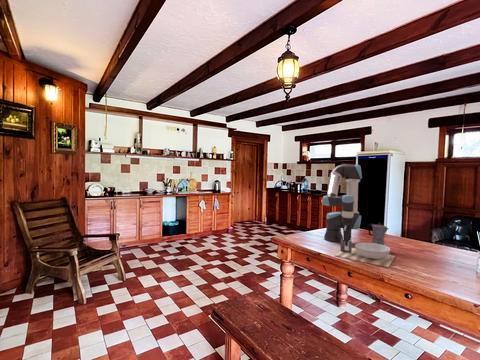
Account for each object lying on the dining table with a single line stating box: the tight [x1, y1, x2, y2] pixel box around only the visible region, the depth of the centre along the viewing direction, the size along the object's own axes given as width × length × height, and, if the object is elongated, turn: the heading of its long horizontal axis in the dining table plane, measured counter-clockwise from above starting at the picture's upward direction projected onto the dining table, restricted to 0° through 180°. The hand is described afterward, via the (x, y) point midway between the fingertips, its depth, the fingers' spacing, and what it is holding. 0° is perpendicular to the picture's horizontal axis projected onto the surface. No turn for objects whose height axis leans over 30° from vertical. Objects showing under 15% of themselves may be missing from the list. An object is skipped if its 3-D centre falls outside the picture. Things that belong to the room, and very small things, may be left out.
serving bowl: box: [354, 242, 391, 259], centre depth 169 cm, size 21×21×7 cm
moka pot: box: [367, 222, 389, 245], centre depth 190 cm, size 10×15×20 cm, turn 39°
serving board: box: [334, 239, 396, 268], centre depth 172 cm, size 32×25×9 cm
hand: (347, 249), depth 180 cm, fingers closed on serving board, 2 cm apart
